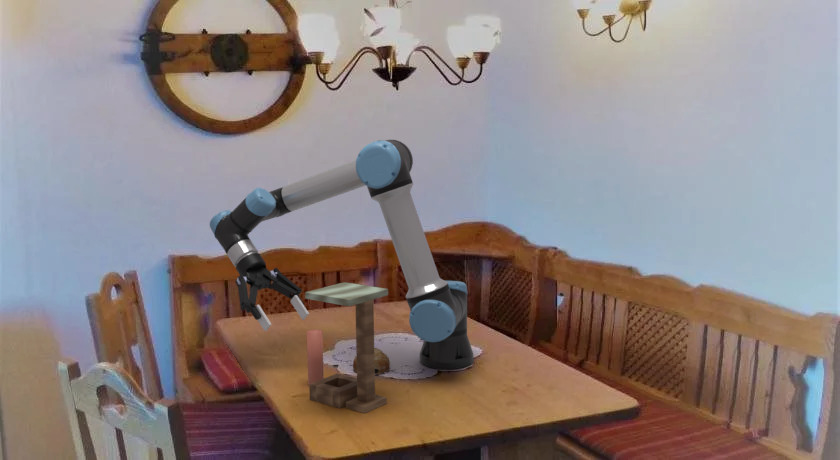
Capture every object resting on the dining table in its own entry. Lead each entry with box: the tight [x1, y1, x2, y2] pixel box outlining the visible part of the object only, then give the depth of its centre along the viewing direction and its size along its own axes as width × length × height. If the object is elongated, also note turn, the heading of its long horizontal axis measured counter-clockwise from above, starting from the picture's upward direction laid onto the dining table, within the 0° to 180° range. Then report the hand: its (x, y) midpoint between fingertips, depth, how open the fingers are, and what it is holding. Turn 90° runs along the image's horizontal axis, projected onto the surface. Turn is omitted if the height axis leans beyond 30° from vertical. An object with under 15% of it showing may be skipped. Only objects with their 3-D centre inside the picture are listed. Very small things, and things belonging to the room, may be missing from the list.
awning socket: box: [304, 281, 389, 414], centre depth 193 cm, size 17×14×28 cm
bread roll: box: [352, 347, 391, 375], centre depth 219 cm, size 10×10×8 cm
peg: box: [306, 329, 325, 386], centre depth 207 cm, size 4×4×14 cm
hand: (287, 322), depth 211 cm, fingers open, 13 cm apart
